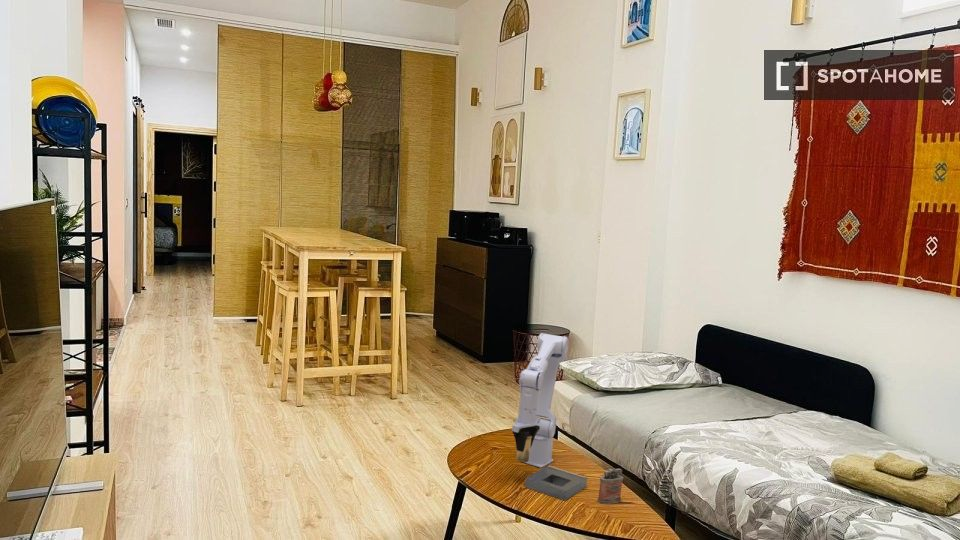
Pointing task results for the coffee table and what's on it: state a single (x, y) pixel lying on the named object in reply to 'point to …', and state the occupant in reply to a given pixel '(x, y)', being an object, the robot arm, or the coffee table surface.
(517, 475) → the coffee table surface
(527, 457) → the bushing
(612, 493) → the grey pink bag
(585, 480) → the jig
